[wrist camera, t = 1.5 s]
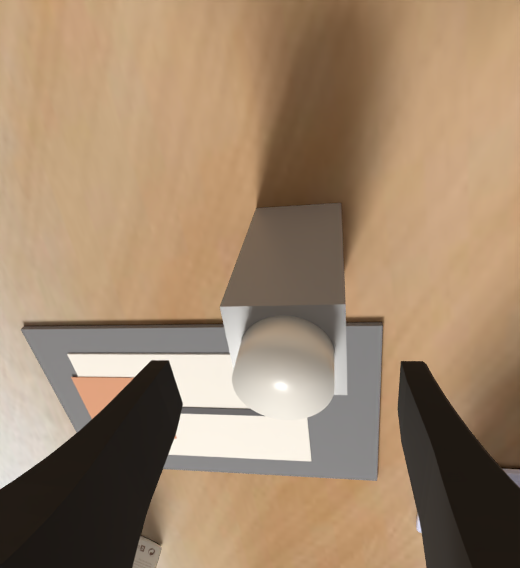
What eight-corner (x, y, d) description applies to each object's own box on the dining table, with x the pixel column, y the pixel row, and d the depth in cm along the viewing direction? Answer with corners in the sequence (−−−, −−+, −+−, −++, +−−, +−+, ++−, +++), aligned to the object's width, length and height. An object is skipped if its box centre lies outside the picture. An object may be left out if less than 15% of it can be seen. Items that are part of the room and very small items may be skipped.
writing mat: (381, 322, 23) (383, 327, 23) (376, 476, 30) (377, 482, 30) (23, 326, 27) (19, 331, 27) (96, 461, 35) (93, 466, 34)
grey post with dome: (341, 202, 20) (346, 335, 12) (343, 276, 22) (348, 430, 14) (256, 208, 20) (208, 336, 13) (266, 278, 23) (230, 426, 15)
